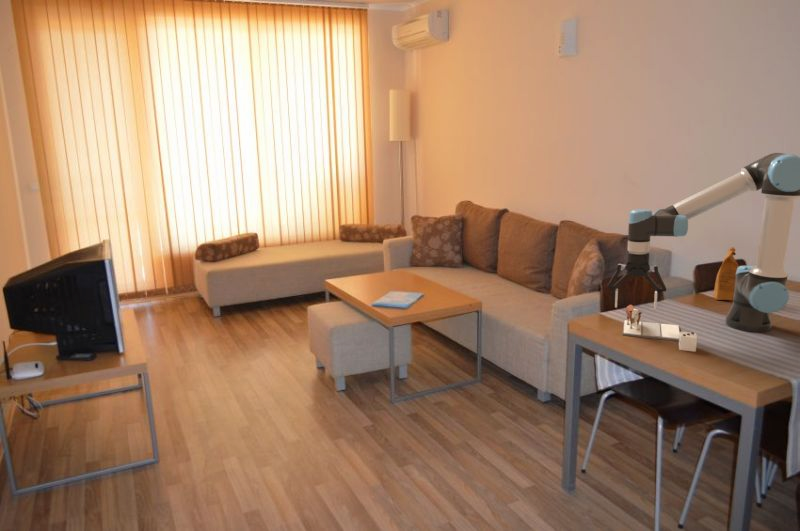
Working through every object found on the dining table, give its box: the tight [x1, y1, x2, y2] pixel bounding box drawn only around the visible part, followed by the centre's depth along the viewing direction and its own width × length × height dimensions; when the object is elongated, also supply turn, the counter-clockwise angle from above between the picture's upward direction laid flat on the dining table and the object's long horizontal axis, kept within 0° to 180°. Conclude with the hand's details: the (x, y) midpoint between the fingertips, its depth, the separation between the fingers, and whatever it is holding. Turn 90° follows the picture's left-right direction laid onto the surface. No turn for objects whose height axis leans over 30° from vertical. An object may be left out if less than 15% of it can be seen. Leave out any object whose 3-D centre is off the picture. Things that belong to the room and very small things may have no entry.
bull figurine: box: [625, 304, 643, 330], centre depth 226 cm, size 4×13×8 cm, turn 167°
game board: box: [622, 319, 681, 342], centre depth 225 cm, size 20×16×1 cm
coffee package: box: [713, 246, 740, 302], centre depth 263 cm, size 10×12×22 cm
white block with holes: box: [678, 331, 698, 353], centre depth 207 cm, size 5×5×6 cm
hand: (635, 307), depth 225 cm, fingers open, 13 cm apart
